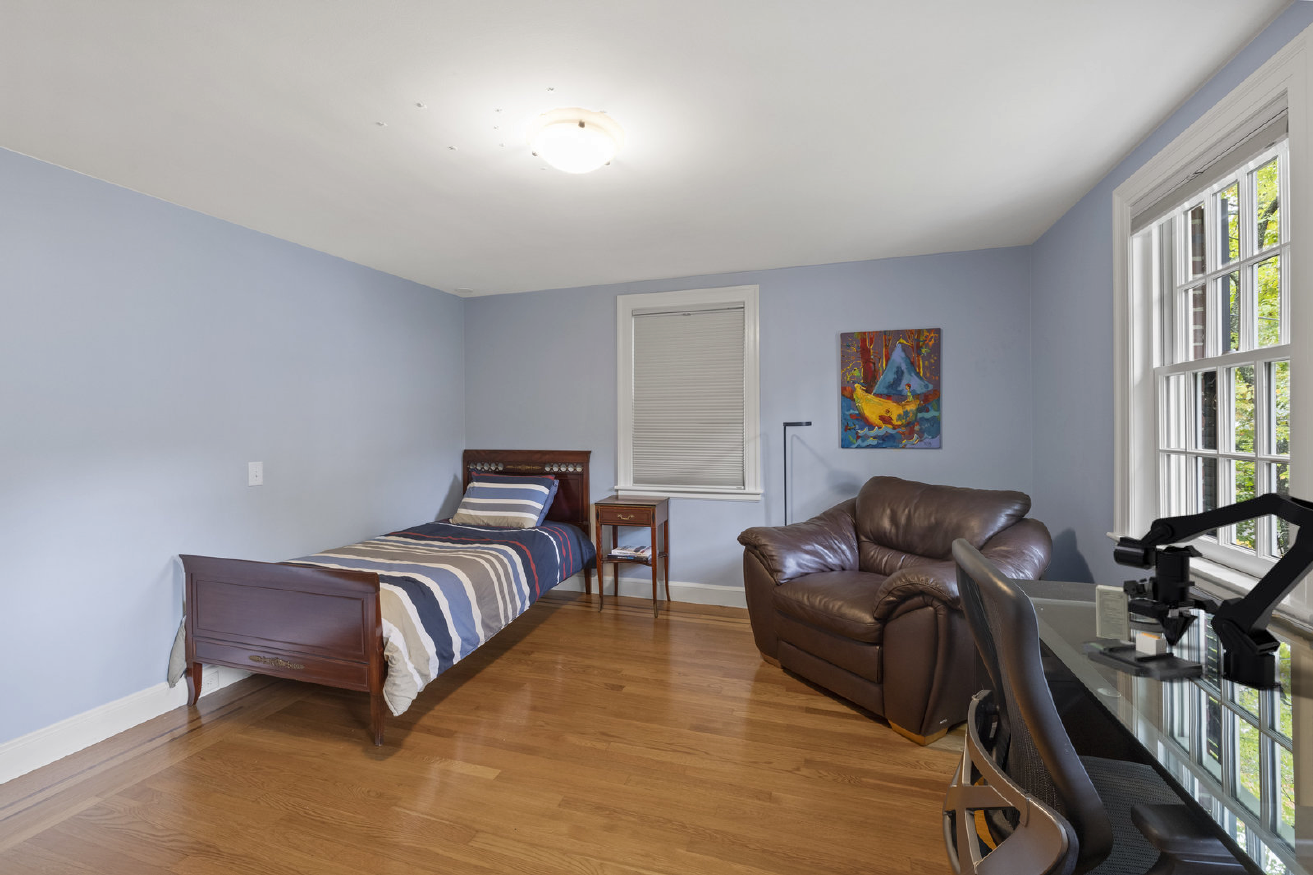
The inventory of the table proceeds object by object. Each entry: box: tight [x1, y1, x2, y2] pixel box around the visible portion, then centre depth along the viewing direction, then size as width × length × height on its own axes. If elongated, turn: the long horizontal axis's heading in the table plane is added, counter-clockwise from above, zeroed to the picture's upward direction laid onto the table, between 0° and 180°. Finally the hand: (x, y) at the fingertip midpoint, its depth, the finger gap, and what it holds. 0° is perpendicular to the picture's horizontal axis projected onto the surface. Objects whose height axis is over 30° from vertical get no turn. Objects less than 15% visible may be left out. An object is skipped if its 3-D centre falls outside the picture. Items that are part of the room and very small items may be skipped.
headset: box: [1129, 578, 1164, 634], centre depth 156 cm, size 14×10×20 cm
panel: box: [1081, 639, 1204, 682], centre depth 127 cm, size 16×12×3 cm
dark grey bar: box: [1086, 651, 1141, 677], centre depth 125 cm, size 10×1×1 cm, turn 15°
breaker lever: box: [1135, 632, 1167, 655], centre depth 127 cm, size 4×3×4 cm
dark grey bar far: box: [1082, 638, 1120, 644], centre depth 136 cm, size 1×10×1 cm, turn 105°
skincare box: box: [1095, 584, 1131, 641], centre depth 143 cm, size 6×4×12 cm
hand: (1171, 645), depth 129 cm, fingers closed
